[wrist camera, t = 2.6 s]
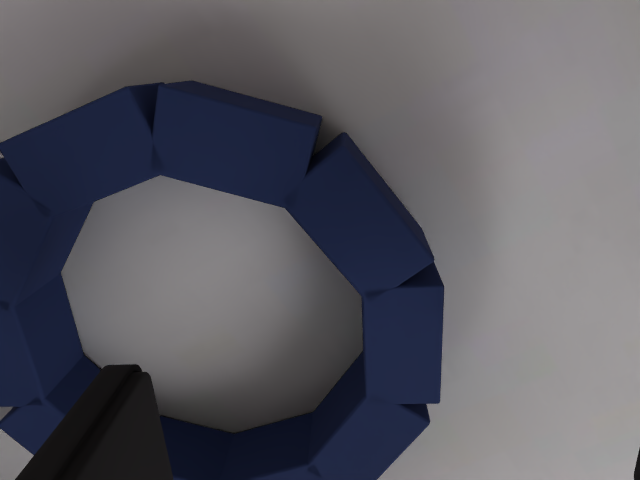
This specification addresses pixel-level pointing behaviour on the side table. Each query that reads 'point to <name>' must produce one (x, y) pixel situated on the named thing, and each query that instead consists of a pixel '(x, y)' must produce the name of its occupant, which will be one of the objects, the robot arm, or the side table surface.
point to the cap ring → (246, 181)
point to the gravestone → (4, 411)
